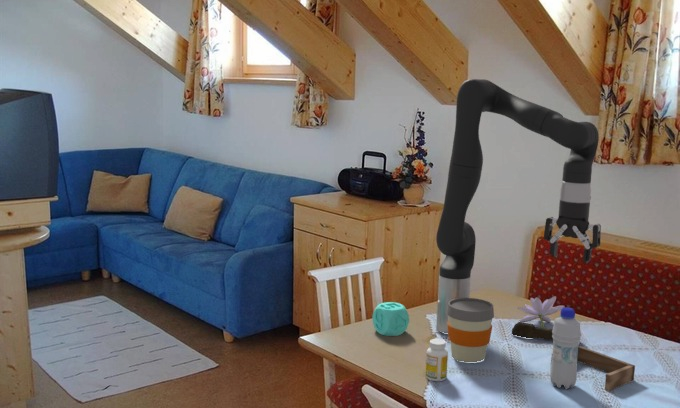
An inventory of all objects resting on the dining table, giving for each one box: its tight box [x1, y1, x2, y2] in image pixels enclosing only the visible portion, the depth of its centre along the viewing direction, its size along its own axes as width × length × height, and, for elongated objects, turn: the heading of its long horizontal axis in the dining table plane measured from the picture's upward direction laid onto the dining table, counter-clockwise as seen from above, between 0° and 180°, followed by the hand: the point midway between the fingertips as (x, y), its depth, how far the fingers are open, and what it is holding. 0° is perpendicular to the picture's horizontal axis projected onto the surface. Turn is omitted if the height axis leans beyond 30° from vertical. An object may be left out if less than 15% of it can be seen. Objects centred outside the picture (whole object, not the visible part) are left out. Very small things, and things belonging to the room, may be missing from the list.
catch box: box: [550, 344, 636, 392], centre depth 180 cm, size 11×17×4 cm, turn 36°
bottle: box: [549, 307, 582, 390], centre depth 172 cm, size 7×7×20 cm
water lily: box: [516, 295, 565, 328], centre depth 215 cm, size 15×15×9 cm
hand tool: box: [511, 321, 553, 341], centre depth 205 cm, size 19×4×5 cm, turn 71°
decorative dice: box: [371, 301, 410, 337], centre depth 209 cm, size 8×8×8 cm
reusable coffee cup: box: [447, 297, 495, 362], centre depth 190 cm, size 13×13×15 cm
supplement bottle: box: [424, 338, 449, 382], centre depth 176 cm, size 5×5×10 cm
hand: (569, 259), depth 184 cm, fingers open, 8 cm apart
